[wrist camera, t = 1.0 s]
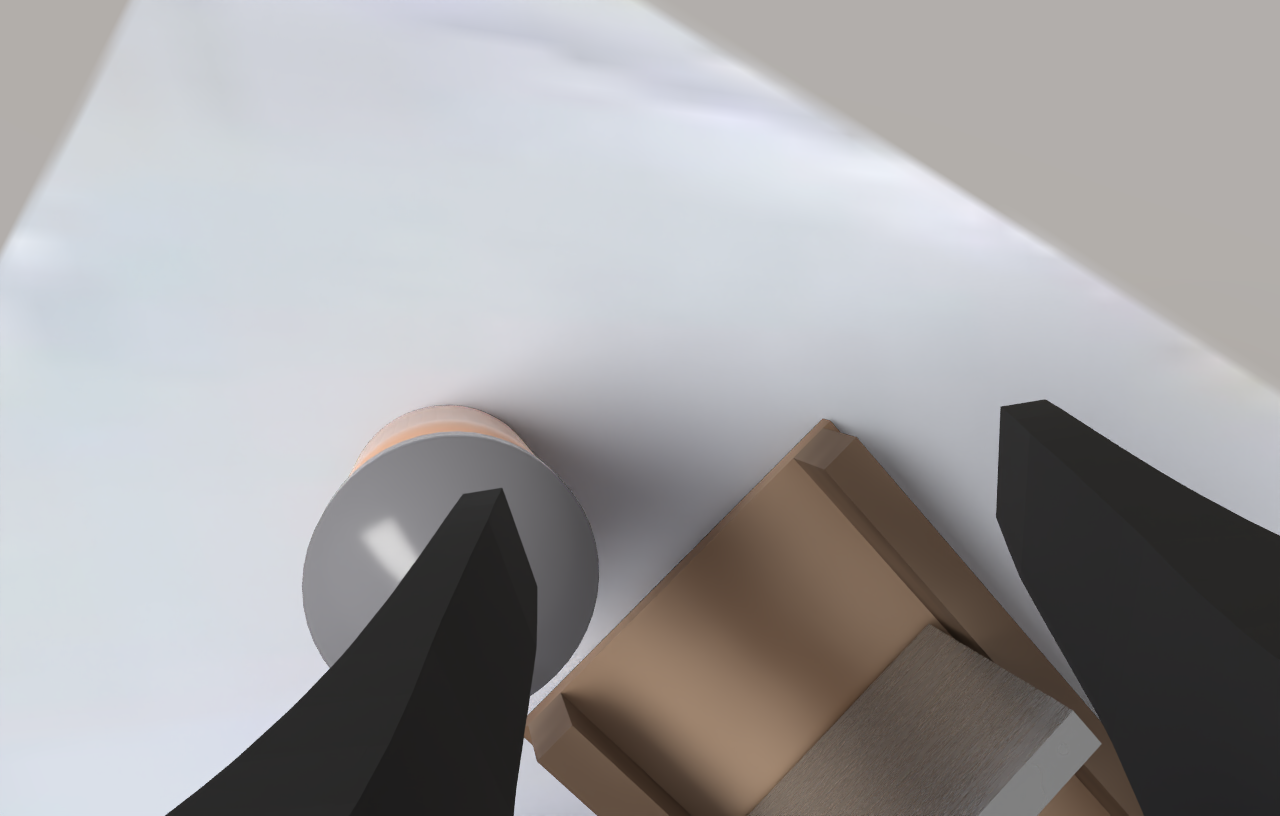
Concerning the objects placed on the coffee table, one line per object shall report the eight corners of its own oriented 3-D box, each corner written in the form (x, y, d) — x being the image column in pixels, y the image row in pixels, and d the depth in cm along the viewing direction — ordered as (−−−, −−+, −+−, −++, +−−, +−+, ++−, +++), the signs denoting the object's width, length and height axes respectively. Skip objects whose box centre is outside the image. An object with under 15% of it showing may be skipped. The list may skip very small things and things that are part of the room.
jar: (445, 637, 23) (452, 779, 16) (297, 501, 22) (234, 589, 15) (586, 498, 24) (654, 575, 17) (449, 359, 23) (459, 377, 16)
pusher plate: (754, 861, 25) (851, 1022, 20) (728, 836, 25) (818, 991, 19) (952, 650, 26) (1101, 743, 20) (928, 623, 26) (1073, 710, 20)
